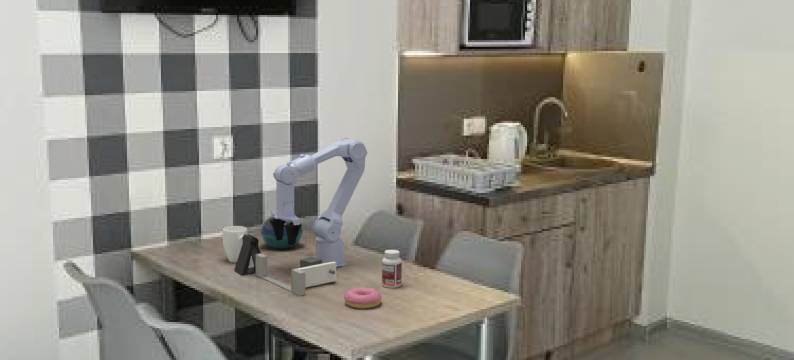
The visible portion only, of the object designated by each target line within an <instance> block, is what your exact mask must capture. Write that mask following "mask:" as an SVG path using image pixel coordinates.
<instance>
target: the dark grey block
mask: <svg viewBox="0 0 794 360" xmlns="http://www.w3.org/2000/svg"><path fill="white" fill-rule="evenodd" d="M318 264H322V259H318V258H316V257H313V256H309V257H305V258H302V259H299V268H303V267H308V266H313V265H318Z"/></svg>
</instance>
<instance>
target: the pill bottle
mask: <svg viewBox="0 0 794 360" xmlns="http://www.w3.org/2000/svg"><path fill="white" fill-rule="evenodd" d="M400 253H401V252H400V251H399V250H398V249H386V250H384V257H383V258H382V259H381V284H382V286H383V287H385V288H388V289H390V288H391V289H395V288H399V287H401V286H402V281H403V280H402V275H403V274H402V270H403V269H402V268H403V265H402V263H403V260H402V259H401V258H400Z"/></svg>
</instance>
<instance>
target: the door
mask: <svg viewBox="0 0 794 360" xmlns="http://www.w3.org/2000/svg"><path fill="white" fill-rule="evenodd" d="M295 269H299V270H301V271H304V272H305V288H308V287H313V286H318V285H323V284H327V283H333V282H336V281H337V267H336V262H328V263H323V264H318V265H313V266H308V267H303V268H300V267H298V268H294V270H295Z"/></svg>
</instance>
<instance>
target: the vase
mask: <svg viewBox="0 0 794 360" xmlns="http://www.w3.org/2000/svg"><path fill="white" fill-rule="evenodd" d="M270 219H273V217H271V216H269V217H268V218H266V219H265V220H264V221H263V223H262V224H261V227H260V234H261V235H260V236H261V238H262V240H263V242H264V243H265V244H266V245H267V246H268V247H271V248H274V249H280V250H283V249H290V248H293V247H295V246H296V245H298V244H299V243H300V241H301V240H302V238H303V235H304V234H303V233H304V227H303V225H302V227H301V228H300V230H299V232H298V235H297V238H296V242H295V245H288V239H287V232H286V229H285V227H284V232H283V239H282V240H278V241H277V240H276V238H275V234H274V230H273V227H272V225H271V223H270V222H269V220H270ZM285 224H290V222H287V221H286V222H285ZM300 224H302V222H301V221H300Z"/></svg>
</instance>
